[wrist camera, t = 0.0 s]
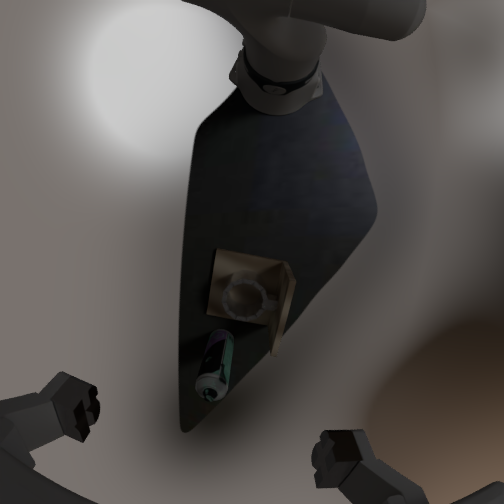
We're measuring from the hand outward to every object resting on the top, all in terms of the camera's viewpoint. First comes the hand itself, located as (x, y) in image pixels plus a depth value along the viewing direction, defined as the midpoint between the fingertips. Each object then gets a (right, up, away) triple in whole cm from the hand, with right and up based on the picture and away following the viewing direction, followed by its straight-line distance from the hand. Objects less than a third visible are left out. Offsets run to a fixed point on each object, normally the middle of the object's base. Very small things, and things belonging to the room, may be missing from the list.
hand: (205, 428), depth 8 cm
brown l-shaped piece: (0, -1, +49) cm, 49 cm away
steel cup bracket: (+1, -2, +48) cm, 48 cm away
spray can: (-5, -13, +52) cm, 54 cm away
